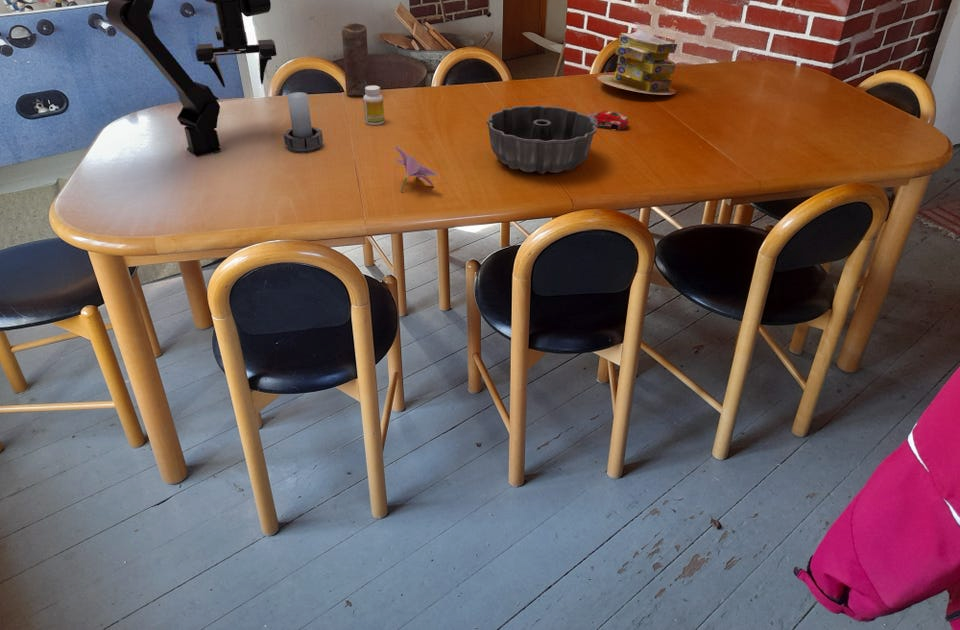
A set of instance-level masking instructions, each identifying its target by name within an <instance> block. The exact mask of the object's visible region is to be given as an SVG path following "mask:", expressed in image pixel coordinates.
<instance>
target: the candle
mask: <svg viewBox="0 0 960 630" xmlns="http://www.w3.org/2000/svg"><path fill="white" fill-rule="evenodd" d="M367 31H368V30H367V27H366V25H364V24H362V23H356V22H354V23H347V24H345V25H343V26H342V28H341V36H342V37H341V39H342V50H343V51H342V52H343V64H344V65H343V66H344V81H345V93H346V94H347V96H355V97H364V95H366V93H365V87H367V86H371V84H370V78H371V77H370V67H369V66H370V65H369V51H368V49H369V48H368V32H367Z"/></svg>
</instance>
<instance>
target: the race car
mask: <svg viewBox="0 0 960 630" xmlns="http://www.w3.org/2000/svg"><path fill="white" fill-rule="evenodd" d="M583 114H584V115H587V116H590V117H591V118H592V119H593V122H595V123H597V124H598V126H597V127H596V128H601V127H602V129H608V128H610V130H612V129H617V130H618V131H619V130H626V129H627V128H628V126H629V121H628V117H627V116H625V115H623V114H621V113H618V112H614V111H610V110H602V111H600V112H596V113H594V112H593V113H592V112H591V113H589V112H588V113H586V114H585V113H583Z"/></svg>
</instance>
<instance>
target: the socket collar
mask: <svg viewBox="0 0 960 630" xmlns="http://www.w3.org/2000/svg"><path fill="white" fill-rule="evenodd" d="M312 134H313V136H310V137H306V138H294V137H293V131H292V128H288V129H287V130H286V131H285V132H284V133H283V134H282V135H283V139H284V140H283V141H284V145H285V146H286V150H288V151H290V152H293V153H297V152H298V153H299V154H300V153H301V154H302V152H306V153H311V151H312V152H315V150H316V151H319V150H320V149H322V148H323V146H322V145H323V143H324V136H323V131H322V130H321V129H319V128H318V127H314V126H312ZM298 153H297V154H298Z"/></svg>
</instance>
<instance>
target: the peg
mask: <svg viewBox="0 0 960 630" xmlns="http://www.w3.org/2000/svg"><path fill="white" fill-rule="evenodd" d="M286 97H287V104H288V109H289V116H290V122H291V123H290V124H291V129H292V131H293V137H294V138H306V137H310V136H313V134H312V127H313V126H312V120H311V113H310V112H311V111H310V106H309V99H308V97H309V96H308V94H307V92H300V91H295V92H291V93H289V94H287V96H286Z"/></svg>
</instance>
